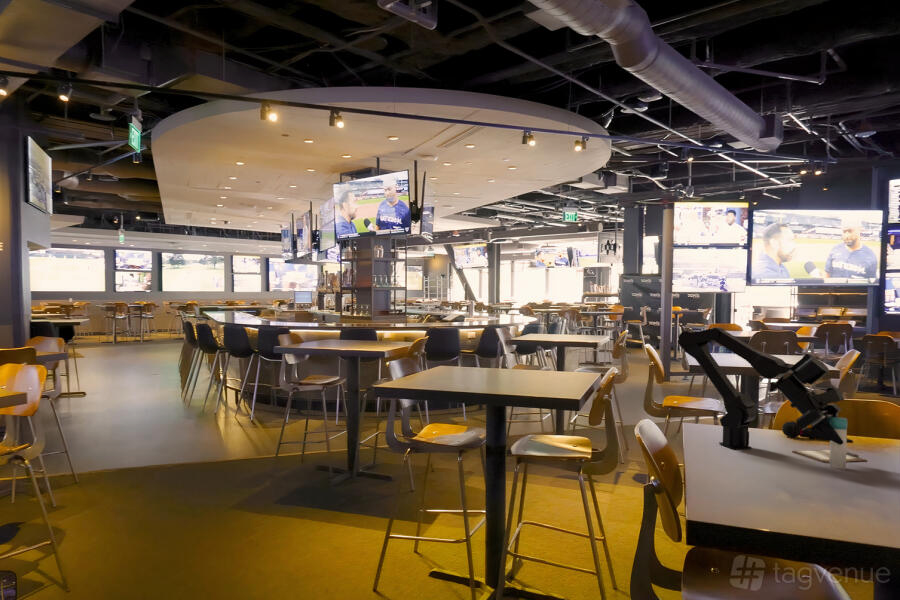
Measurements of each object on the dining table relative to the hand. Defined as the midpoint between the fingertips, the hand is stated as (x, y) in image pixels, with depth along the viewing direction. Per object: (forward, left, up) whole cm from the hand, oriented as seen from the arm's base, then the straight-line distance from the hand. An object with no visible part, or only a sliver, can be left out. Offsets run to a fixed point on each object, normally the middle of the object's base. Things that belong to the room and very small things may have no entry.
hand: (844, 442), depth 150 cm
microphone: (+21, +31, -7) cm, 38 cm away
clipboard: (+6, +11, -7) cm, 15 cm away
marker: (-1, +1, -7) cm, 7 cm away
